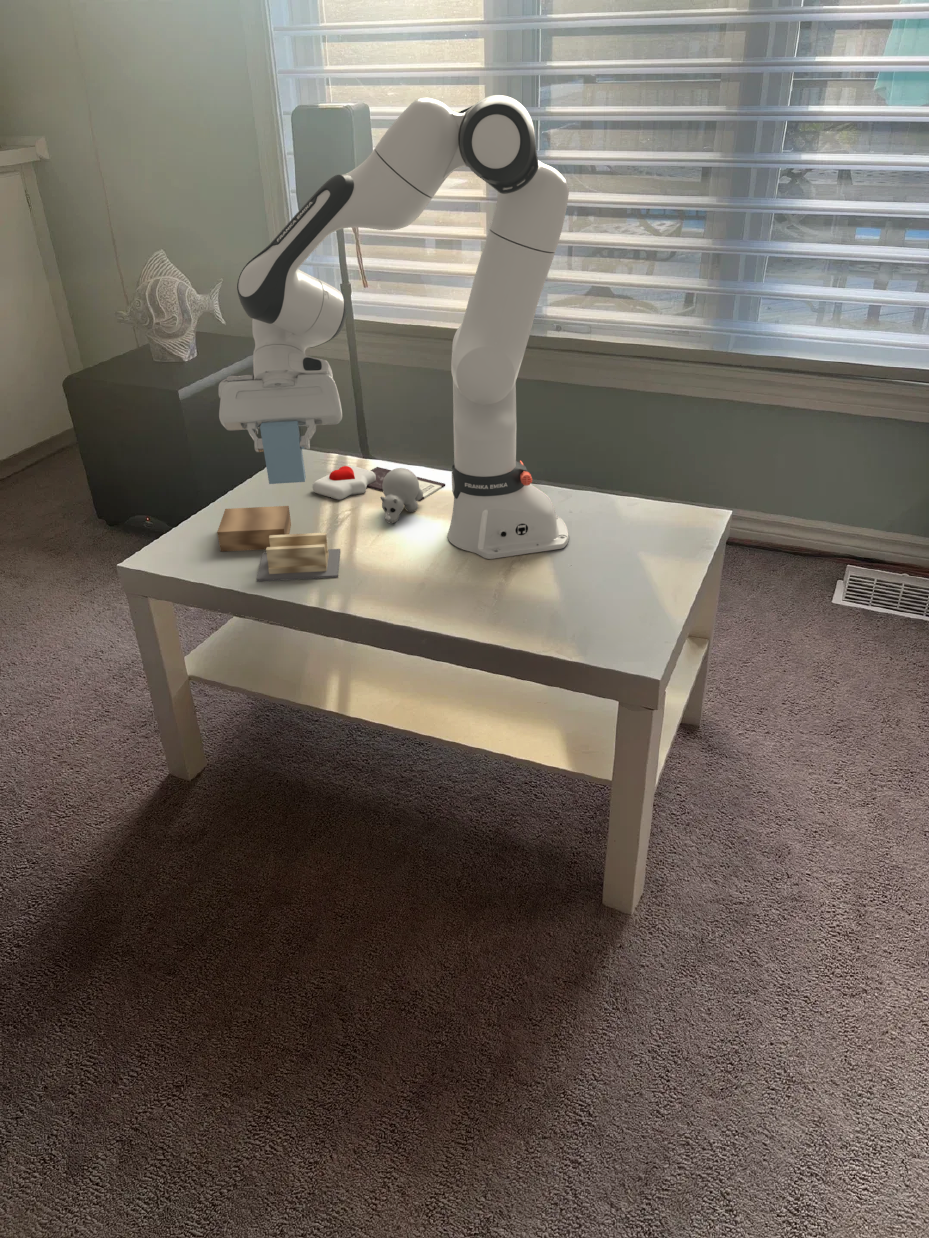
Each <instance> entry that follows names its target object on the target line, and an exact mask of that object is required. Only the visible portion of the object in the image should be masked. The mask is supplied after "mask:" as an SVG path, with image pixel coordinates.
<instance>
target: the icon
mask: <svg viewBox="0 0 929 1238" xmlns="http://www.w3.org/2000/svg"><path fill="white" fill-rule="evenodd" d="M370 470H371V469H370ZM370 470H369V469H365V468H362V467H358V466H355V465H351V464H347V465H343V466H341V467H338V469H335V470H333V471H332V472H330V473H329V474H327V475H325V476H322V477H321V478H319V479H316V480H315V481H313V483H312V486H311V487H312V490H313V492H314V493H316V494H318V495H320V496H323V497H324V496H325V497H328V498H330V497H331V499H333V500H338V501H340V500H341V501H342V500H344V499H346V498H347V497H349V496H352V495H359V494H360V495H361V494H364V493H366V490H367V488H368V487H367V485H369V484H371V483H372V482H374V481H375V480H376V475H375V473H374V472H372V471H370Z"/></svg>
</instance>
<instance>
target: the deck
mask: <svg viewBox="0 0 929 1238" xmlns="http://www.w3.org/2000/svg"><path fill="white" fill-rule="evenodd" d="M221 517H222V518H221V520H220V523H219V525H218V528H217V532H216V533H217V538H218V544H219V551H220V552H241V551H259V550H262V551H263V550H264V551H266V548H267V547H270V542H269V536H270V535H286V534H291V533H290V532H291V527H292V521H291V520H292V519H291V513H290V507H289V505H279V506H278V505H277V506H259V507H257V506H255V507H237V508H236V507H235V508H234V507H233V508H232V507H231V508H225V509H224V512H223V514H222V516H221Z"/></svg>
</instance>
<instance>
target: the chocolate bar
mask: <svg viewBox="0 0 929 1238" xmlns="http://www.w3.org/2000/svg"><path fill="white" fill-rule="evenodd" d="M391 470H392V469H387V468H383V467H380V466H376V467H374V468H372V469H370V471H372V472H374V473H375V475H376V480H375V481H374V482H372V483H371V484H369V485H367V487H366V488H369V489H373V490H376V491H381V492H383V488H382V485H383V480H384V478H385V476H386V475H387V474H388V473H389V472H390V471H391ZM416 477H417V479H418V481H419V488H420V489H421V490H422V492H423V497H422V498H421V499H420V500H418V501H417V502H422V501H424V500H425V499H427V498H428V497H430V496H432V495H433V494H434V493H436V492H438V491H439V490H441V489H442V488H443V489H444V487H446V483H445V482H443V483H442V482H441V481H440V482H439V481H436V480H431V479H427V478H423V477H419V476H416Z"/></svg>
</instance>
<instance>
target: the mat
mask: <svg viewBox="0 0 929 1238" xmlns="http://www.w3.org/2000/svg"><path fill="white" fill-rule="evenodd" d="M328 551H329V556H328V564H327V571H319V572H300V573H280V574H269V570H268V569H269V566H268V560H267V553H266V552H265V551H264V552H262V556H261V558H260V559H261V560H260V564H259V567H258V570H257V571H258V572H257V576H256V579H255V580H256V582H272V581H273V582H274V581H288V580H289V581H291V580H306V579H307V580H311V579H328V578H329V579H330V578H339V569H340V560H341V559H340V557H341V548H328Z"/></svg>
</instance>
